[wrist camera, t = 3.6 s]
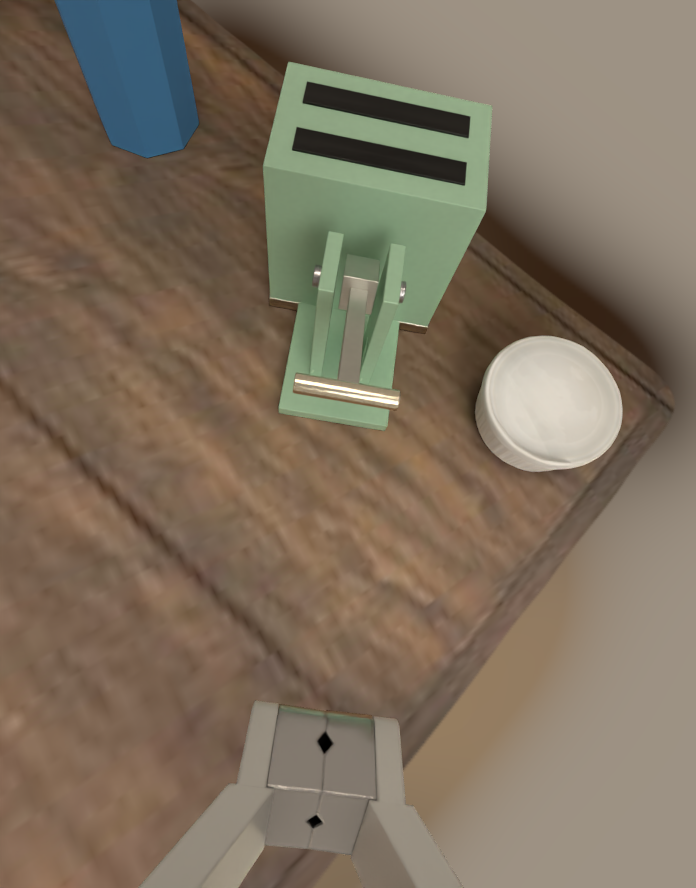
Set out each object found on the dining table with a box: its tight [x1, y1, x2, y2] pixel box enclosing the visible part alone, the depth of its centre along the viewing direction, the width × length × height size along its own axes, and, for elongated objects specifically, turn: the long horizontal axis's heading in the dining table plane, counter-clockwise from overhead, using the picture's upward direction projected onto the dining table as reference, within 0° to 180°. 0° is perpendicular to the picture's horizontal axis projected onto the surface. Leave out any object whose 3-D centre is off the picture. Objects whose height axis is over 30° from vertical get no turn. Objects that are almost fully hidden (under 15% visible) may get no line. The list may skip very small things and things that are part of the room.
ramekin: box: [475, 336, 622, 472], centre depth 41 cm, size 11×11×5 cm
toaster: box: [263, 62, 492, 334], centre depth 39 cm, size 9×14×15 cm, turn 82°
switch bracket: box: [278, 231, 406, 431], centre depth 37 cm, size 11×9×13 cm
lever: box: [293, 254, 400, 411], centre depth 29 cm, size 12×5×2 cm, turn 173°
